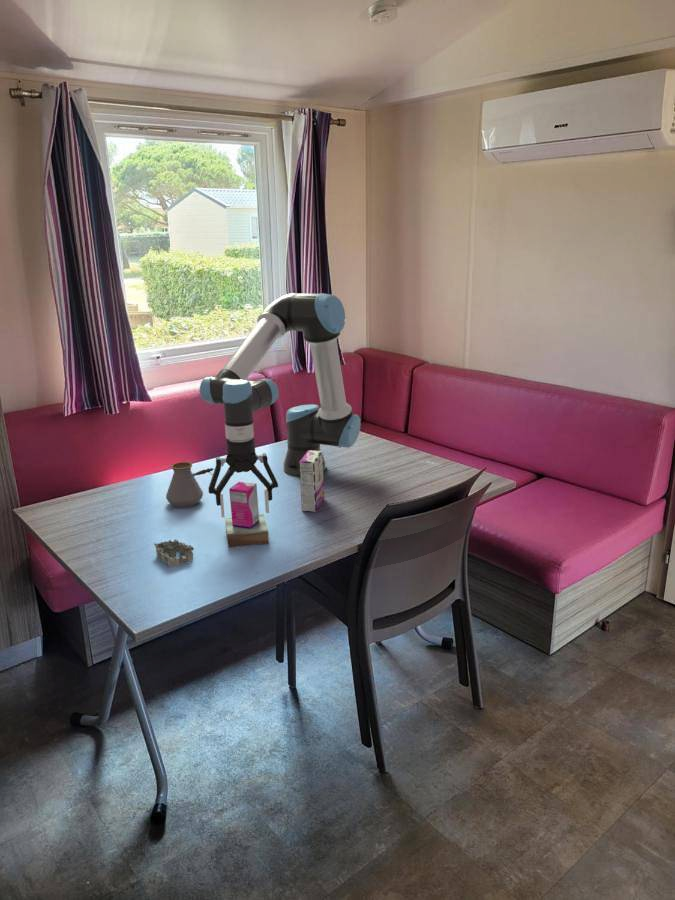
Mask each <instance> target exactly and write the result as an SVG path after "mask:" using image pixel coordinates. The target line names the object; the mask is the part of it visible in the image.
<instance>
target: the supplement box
mask: <svg viewBox="0 0 675 900" xmlns="http://www.w3.org/2000/svg"><path fill="white" fill-rule="evenodd" d="M257 485H258V483H256V482H254V483H253V482H247V481H246V482H244V481H237V483H235V484H234V485H232V486H231V487H230V488H229V491H228V493H229V502H230V512H231V513H230V514H231V518H232V525H233V526H234V527H241V528H247V529H251V528H252V527H253V526H254V525H256V524H257V523H258V522H259V521H260V520H259V515H260V513H259V512H260V511H259V498H258V497H259V496H258V487H257Z"/></svg>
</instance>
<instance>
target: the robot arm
mask: <svg viewBox="0 0 675 900" xmlns="http://www.w3.org/2000/svg"><path fill="white" fill-rule="evenodd" d="M345 320H346V311H345V308H344V305H343V303H342V301H341V299H340V298H339V297H337V296H336V295H334V294H331V293H330V294H328V293H300V292H299V293H298V292H291V293H288V294H284V295H282V296H280V297H279V298H277V299H275V300H274V301H273V302H271V303H270V304H268V306H266V307H265V308H264V310H263V311H261V313H260V314H259V316H258V317H257V321H256V322H257V324H255V326H254V327H253V328H252V330H251V331H250V332H249V334H248V335H247V336H246V338H245V339H244V340H243V341H242V343H241V344H240V345H239V346H238V348H236V350H235V352H234V353H232V354H231V356H230V358H229V359H228V361H226V363H225V364H224V365H223V367H222V368H221V369H220V371H219V372H218V373H217V375H216V376H213V375H212V376H206V377H204V378H203V379H201V382H200V385H199V395H200V398H201V399H202V400H203V401H204V402H205V403H209V404H214V405H222V406H223V413H224V428H225V429H224V430H225V437H226V439H227V440H225V441H226V443H225V444H226V457H223V458H221V457H220V456H217V457H215V467H214V469H215V470H214V469H213V470H214V471H213V473H212V475H211V480H210V482H209V485H208V493H209V494H213V495H214V496H215V503H216V506H217V507H218V506H220V511H221V512H220V513H221V518H222V519H223V518H226V517H225V508H224V507H225V505H224V503H225V502H224V494H223V490H224V488H225V487H226V485H227V484H228V482H229V481H230V479H231V478H232V476H233V475H234V474H235V473H237V474H238V473H242V472H243V473H249V472H252V473H253V474H254V475H255V477H256V478H257V479H258V480H259V482H261V484H262V485H264V488H263V491H264V492H263V493H264V506H265V509H264V510H265V513H266V514H270V508H269V507H270V505H269V503H270V501H272V500H273V489H275V488H279V483H278V481H277V479H276V477H275V474H274V472H273V471H272V470H273V469H272V468H271V466H270V465H269V461H268V456H267V453H266V452H263V453H262V454H258V455H257V453H256V445H255V444H256V442H255V438H254V436H255V428H254V427H255V426H254V413H255V412H257V411H259V410H262V409H264V408H268V407H270V406H271V405H272V404H274V403H276V402H277V400H278V398H279V394H280V392H279V387H278V385H277V384H276V382H275V381H273V380H272V379H271V378H270V379H269V378H260V379H257V380H248V379H249V378H250V376H251V374H252V373H253V371H254V370H255V369H256V367H258V365H259V363H260V362H261V361H262V360H263V358H264V357H265V356H266V354H267V353H268V351H269V350H270V349H271V347H272V346H274V344H275V342H276V341H277V339H278V340H279V339H281V338H282V337H284V336H285V334H286V333H288V332H292V331H296V332H302V335H303V339H304V341H305V342H306V343H307V344H309V346H310V351H311V357H312V365H313V369H314V373H315V380H316V386H317V391H318V396H319V397H318V398H319V402H320V407H319V405H318V404H301V405H298V406H294V407H290V408H289V409H288V410H287V411H286V417H285V418H286V419H285V423H286V439H287V441H286V442H287V450H286V454H285V457H284V461H283V472H285V474H288V475H291V476H299V477H300V465H299V462H300V460H301V459H302V458H303V457H304V455H305V454H306V453H307V451H308V450H312V451H313V450H315V451H322V449H321V445H323V446H331V447H338V448H346V449H347V448H348V449H349V448H351V447H353V446H354V445H355V444H356V442H357V440H358V438H359V436H360V431H361V422H362V421H361V417H360V416H359V415H357V414H355V413H354V414H353V408H352V406H351V404H349V403H347V399H346V392H345V387H344V379H343V374H342V373H343V372H342V367H341V360H340V353H339V346H338V341H337V339H339V337H340V335H341V332H342V331H343V329H344V327H345V324H346V322H345ZM322 458H323V472H324V471H325V470H326V460H325V457H324V455H323V453H322ZM257 461H259V462H260V464H263V466H264V469H265V471H266V473H267V475H268V477H269V479H270V481H271V482H269V481H268V479H267V478H266V477H265V476H264V475H263V474H262V472H260V470H259V469H258V468H257V467H256V465H255V464H256V463H257ZM225 463H226V464H227V465H228V469H227V470H226V472H225V474H224V475H223V477H222V479H221V480H220V482H219V483H218V484H217V481H218V479H219V476H220V472H221V470H222V467H224V465H225ZM216 485H217V486H216Z"/></svg>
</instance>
